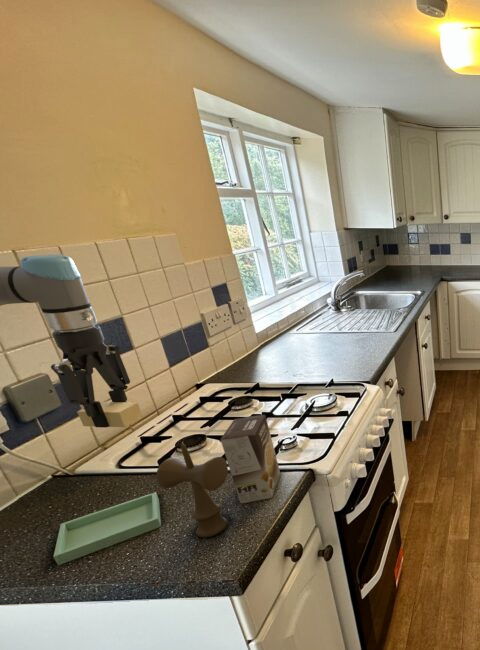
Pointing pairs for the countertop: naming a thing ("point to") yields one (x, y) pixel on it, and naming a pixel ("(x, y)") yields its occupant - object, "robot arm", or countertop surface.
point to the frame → (107, 528)
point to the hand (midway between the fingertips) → (113, 420)
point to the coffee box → (251, 458)
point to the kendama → (198, 488)
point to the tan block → (115, 414)
